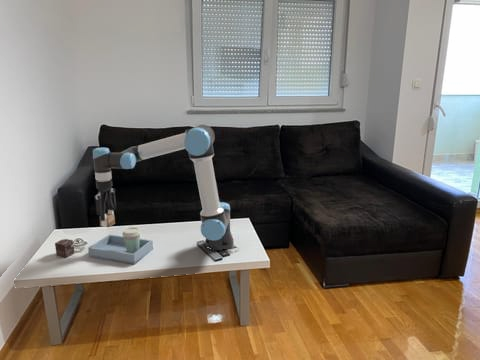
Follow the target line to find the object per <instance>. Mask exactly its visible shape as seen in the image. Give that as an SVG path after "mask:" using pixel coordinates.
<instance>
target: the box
mask: <svg viewBox="0 0 480 360" xmlns="http://www.w3.org/2000/svg"><path fill="white" fill-rule="evenodd" d="M54 245H55V246H54V247H55V255H56V257H58V258H64V259H68V257H71V256H72V255H74V254H75V248H74V241H73V240H72V239H67V238H63V239H61V240H58V241H56V242H55V243H54Z"/></svg>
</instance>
